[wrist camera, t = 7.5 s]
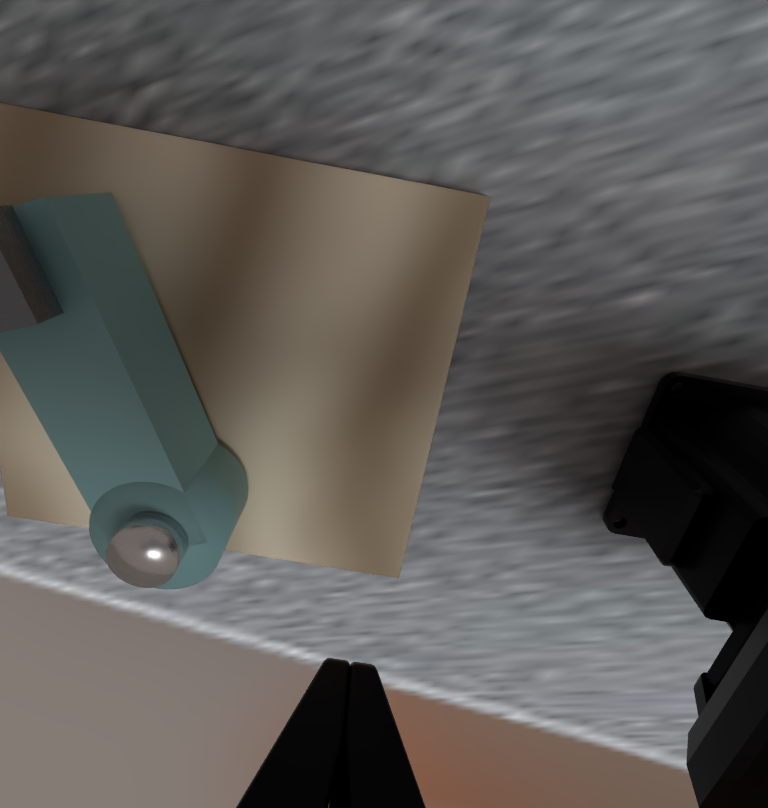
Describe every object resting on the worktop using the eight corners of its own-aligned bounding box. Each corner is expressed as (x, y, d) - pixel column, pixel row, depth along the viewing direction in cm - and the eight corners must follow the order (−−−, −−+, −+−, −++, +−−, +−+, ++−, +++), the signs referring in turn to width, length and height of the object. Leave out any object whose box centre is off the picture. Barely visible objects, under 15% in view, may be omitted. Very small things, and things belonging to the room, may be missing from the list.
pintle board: (484, 194, 16) (531, 209, 10) (399, 557, 21) (397, 698, 16) (-22, 98, 15) (-280, 54, 9) (28, 497, 21) (-115, 622, 15)
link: (263, 519, 19) (231, 601, 15) (163, 538, 20) (108, 623, 16) (127, 187, 15) (36, 192, 11) (1, 223, 15) (-126, 240, 11)
